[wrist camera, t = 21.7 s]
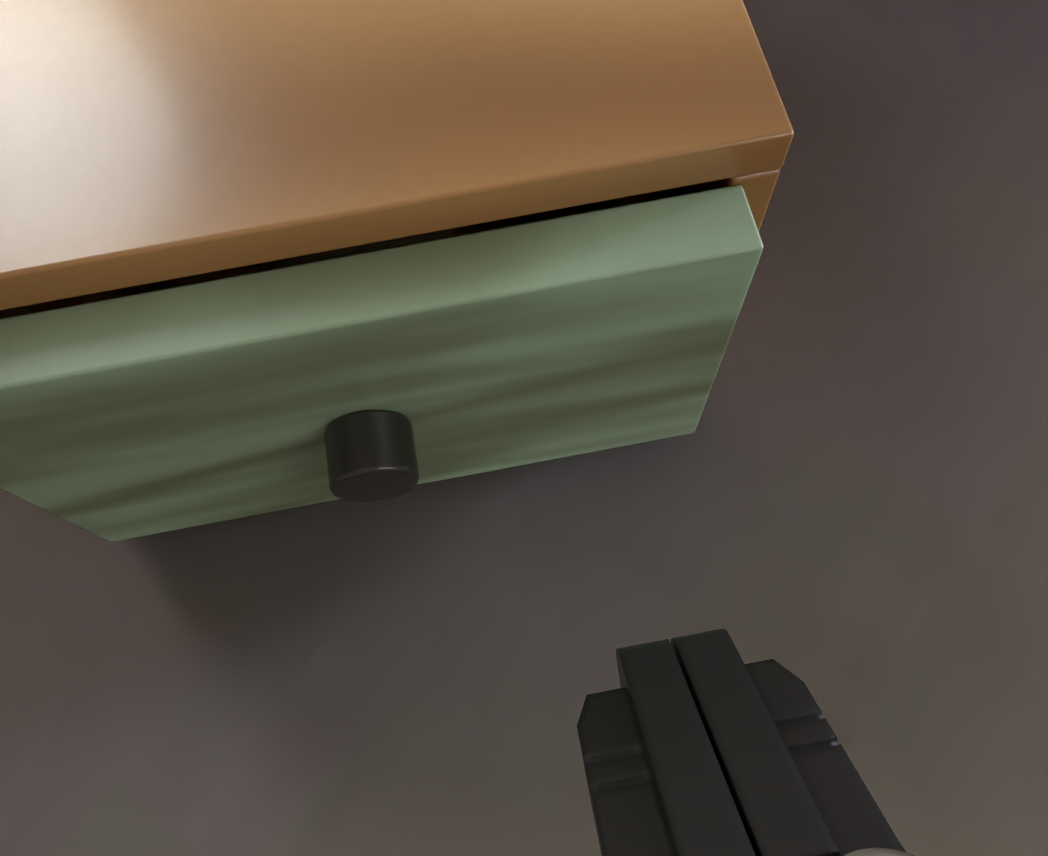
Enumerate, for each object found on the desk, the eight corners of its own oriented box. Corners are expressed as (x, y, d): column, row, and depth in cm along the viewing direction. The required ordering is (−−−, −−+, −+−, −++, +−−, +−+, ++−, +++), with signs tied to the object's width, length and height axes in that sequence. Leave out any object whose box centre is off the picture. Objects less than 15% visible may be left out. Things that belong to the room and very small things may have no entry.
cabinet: (701, 397, 20) (796, 133, 12) (106, 508, 20) (-239, 319, 11) (561, -88, 27) (557, -479, 18) (114, -10, 26) (-99, -371, 18)
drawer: (709, 483, 18) (790, 317, 12) (109, 596, 18) (-166, 495, 11) (556, -62, 25) (551, -368, 18) (118, 14, 25) (-52, -266, 18)
